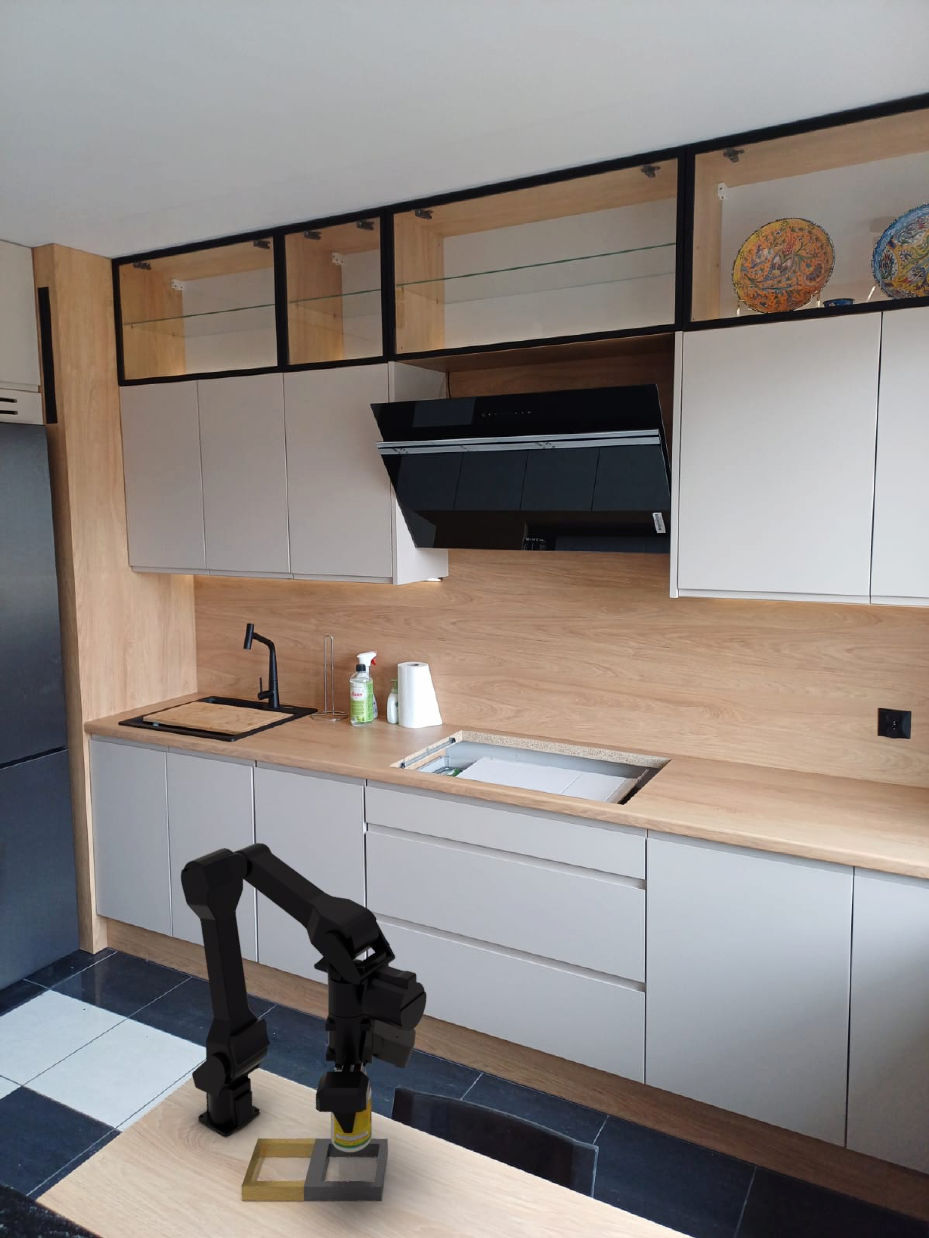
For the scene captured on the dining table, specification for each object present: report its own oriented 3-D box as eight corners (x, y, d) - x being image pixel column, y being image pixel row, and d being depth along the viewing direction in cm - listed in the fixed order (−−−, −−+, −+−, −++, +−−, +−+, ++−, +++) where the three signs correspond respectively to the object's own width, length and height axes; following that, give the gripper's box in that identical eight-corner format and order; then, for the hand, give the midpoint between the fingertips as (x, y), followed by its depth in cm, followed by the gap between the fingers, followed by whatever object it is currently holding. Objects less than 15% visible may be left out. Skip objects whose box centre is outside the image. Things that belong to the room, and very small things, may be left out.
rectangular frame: (241, 1200, 113) (241, 1186, 113) (258, 1151, 122) (257, 1138, 122) (381, 1201, 113) (381, 1186, 113) (387, 1151, 122) (387, 1138, 122)
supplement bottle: (325, 1134, 118) (324, 1066, 117) (362, 1121, 120) (361, 1055, 120) (340, 1159, 113) (339, 1088, 112) (378, 1145, 116) (377, 1076, 115)
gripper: (406, 1047, 106) (407, 1168, 107) (415, 970, 124) (416, 1074, 126) (314, 1047, 106) (315, 1168, 107) (337, 970, 124) (338, 1074, 126)
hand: (351, 1117), depth 117 cm, fingers closed on supplement bottle, 5 cm apart
